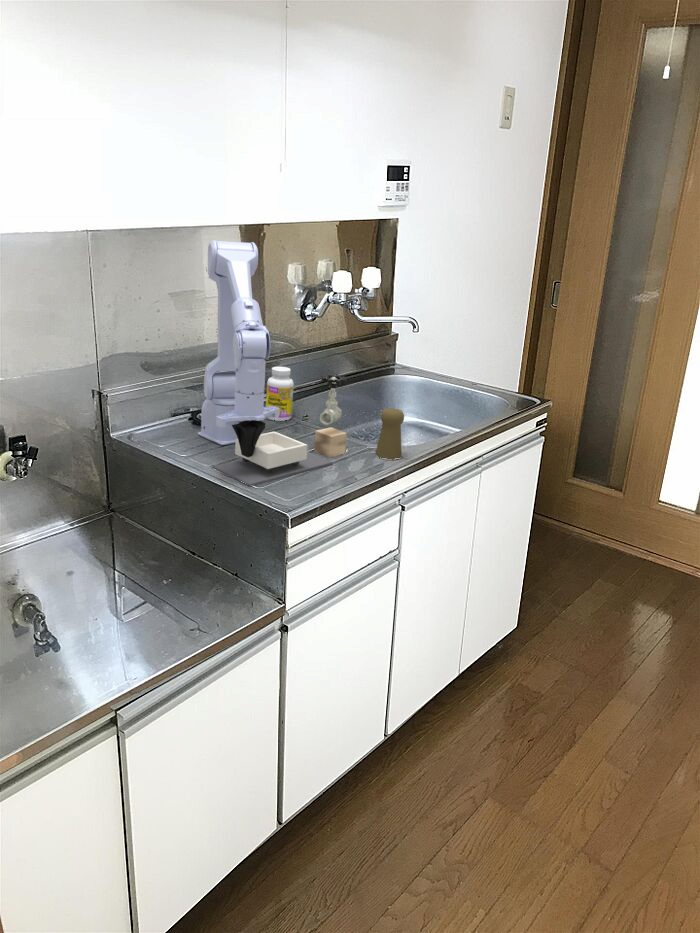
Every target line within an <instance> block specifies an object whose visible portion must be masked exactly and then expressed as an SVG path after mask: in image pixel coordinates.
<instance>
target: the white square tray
mask: <svg viewBox="0 0 700 933" xmlns="http://www.w3.org/2000/svg"><path fill="white" fill-rule="evenodd" d="M234 445H235V446H234V450H235V451H234V454H235V455H237V456H239V457H241V459H242V460H243V461H245V462H249V461H252V462H254V463H256V464H258V465H260V466H262V467H265V470H266V472H268V473H272V472H273V471H274V467H278V466H282V465H286V464H290V463H291V464H292V465H293V466H295V467H296V466H298V465H299V461H302V460H305V459H307V452H308V446H309V445H308V444H306V443H303V441H302V442H301V441H299V440H297V439H294V438H291V437H290V436H287V435H285V434H282V433H279V432H277V431H270V432H265V433H264V432H263V433H261V435H260V436H259V438H258V441H257V443H256V446H255V449H254V452H253V456H251V457H246V456H243V455H242V454H241V449H240V444H239V441H238V439H236V442H235V443H234Z"/></svg>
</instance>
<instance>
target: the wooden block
mask: <svg viewBox="0 0 700 933" xmlns="http://www.w3.org/2000/svg"><path fill="white" fill-rule="evenodd" d="M314 434H315V436H314V445H313V452H314V453H317V454H319V455H321V456H324V457H327V458H329V459H331V458H334V457H338V456H342V455H345V454H346V447H347V436H348V435H347V434H348V433H347V432H344V431H342V430H339V429H337V428H335V427H332V426H331V427H326V428H321V429H317V430H315V432H314ZM344 453H345V454H344ZM341 454H342V455H341Z"/></svg>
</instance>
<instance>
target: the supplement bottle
mask: <svg viewBox="0 0 700 933" xmlns="http://www.w3.org/2000/svg"><path fill="white" fill-rule="evenodd" d="M291 370H292V369H291V368H289V367H287V366H274V367H271V375H272V376H271V377H269V378H268V380H267V382H266V397H265V398H266V400H265V407H270V406H275V407H277V408H279V417H277V418H274V417H270V418H267V419H268V420H269V421H274V420H275V421H276V422H285V420H287V421H289V420H290V419H291V418H292V414H293V413H292V412H293V400H294V399H293V398H294V380H293V379H292V378H290V376H291V372H292V371H291Z"/></svg>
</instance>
